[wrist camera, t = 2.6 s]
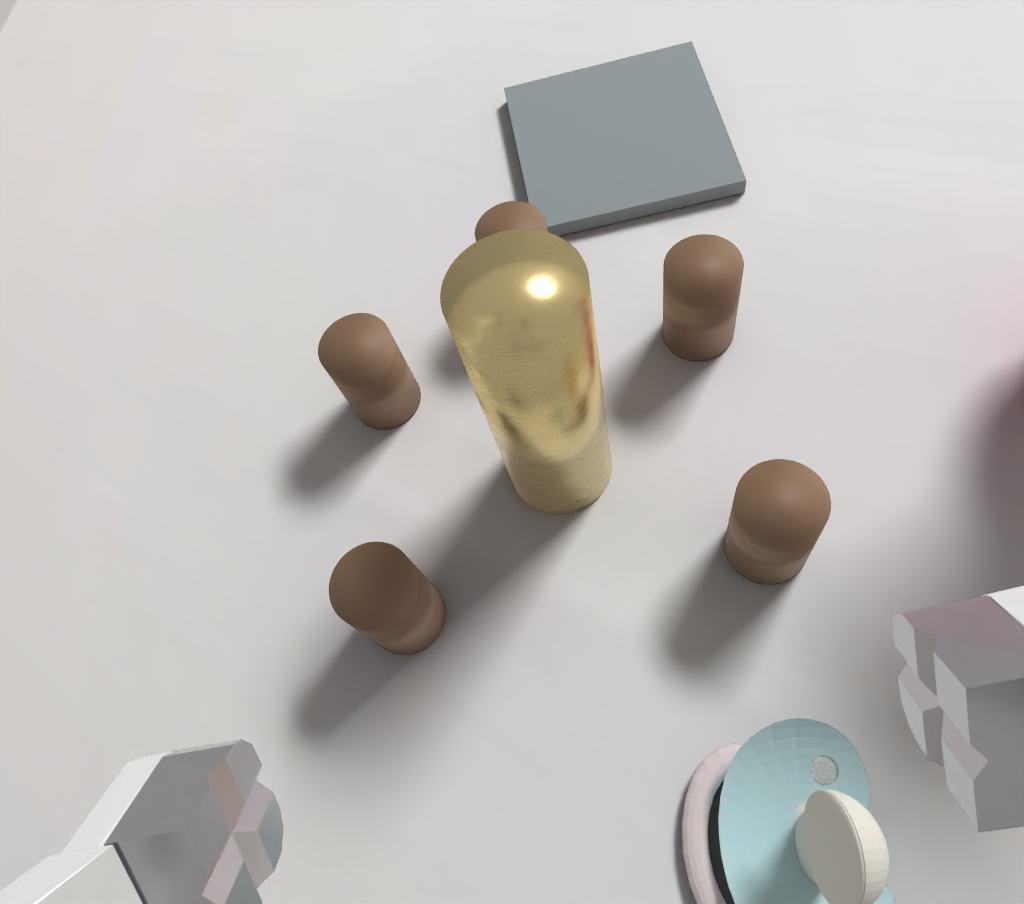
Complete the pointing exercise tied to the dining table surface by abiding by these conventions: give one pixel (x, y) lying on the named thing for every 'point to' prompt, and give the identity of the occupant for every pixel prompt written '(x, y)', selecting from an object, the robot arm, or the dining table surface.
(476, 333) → the gold rounded cylinder
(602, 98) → the mat
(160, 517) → the dining table surface
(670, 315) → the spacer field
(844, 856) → the pacifier
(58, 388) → the dining table surface
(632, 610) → the dining table surface
